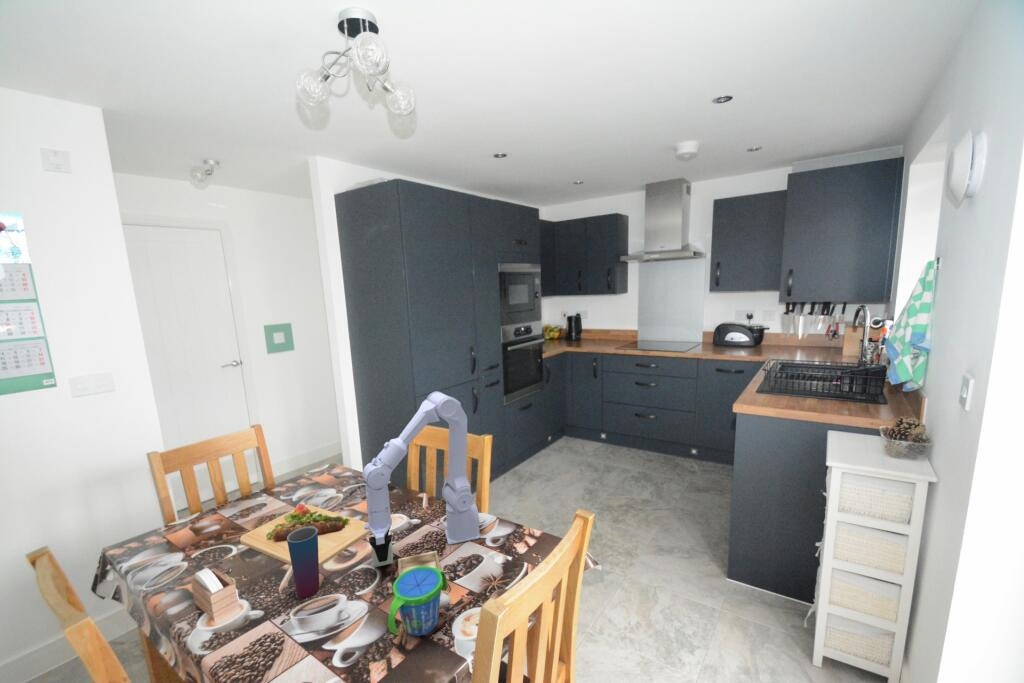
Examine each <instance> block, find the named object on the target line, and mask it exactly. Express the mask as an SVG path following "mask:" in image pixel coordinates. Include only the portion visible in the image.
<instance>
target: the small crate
mask: <svg viewBox="0 0 1024 683" xmlns="http://www.w3.org/2000/svg"><path fill="white" fill-rule="evenodd" d="M371 553H372V554H371V555H372V556H371V557H372V563H373V564H372V567H373V568H377V567H381V566H386V565H390V564H394V551H393V539H392V540H391V542H390V544H389V549H388V558H387V561H384V562H379V561H378V559H377V556H376V553H375V550H374V549H373V547H372V546H371Z"/></svg>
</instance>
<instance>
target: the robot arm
mask: <svg viewBox="0 0 1024 683" xmlns="http://www.w3.org/2000/svg"><path fill="white" fill-rule="evenodd" d="M461 405H462V403H461V402H460V401H459V400H457V398H454V397H453V396H449V395H447V394H444V393H443V392H441V391H437V390H435V391H433V392H431V393H430V394H428V395H427V398H426V399H425V400H423V401H422V403H421V404H420V407H419V409H418V410H417V412H416V413H414V415H413V417H412V418H411V420H410V421H409V422H408V423H407V425H406V426H405V428H404V429H403V430H402V432H401V433H400V434H399V436H398V437H396V438H391V439H390V440H389V441H386V442H384V444H383V448H382V450H381V451H380V452H379V453H378V454H377V456H375V457H373V459H372V460H371V462H369V463H367V464H366V465H365V466H364V467H363V470H362V473H361V477H362V479H363V480H364V481H365V490H366V491H365V496H366V497H365V498H366V508H367V517H368V518H367V519H368V522H367V524H365V525H364V529H365V530H367V529H369V530H370V531H371V533H370V534H372V535H373V536H371V537H368V538H369V541H368V542H369V545H370V547H371V548H372V547H373V549H374V550H375V553H376V556H377V559H378V561H379V562H384V561H387V558H388V549H389V544H390V542H391V540H392V541H393V534H390V529H391V526H392V525H393V521H392V520H393V519H392V515H391V513H392V512H391V503H390V495H389V486H388V484H389V482H390V480H391V474H392V472H393V471H394V469H395V468H396V467H397V466H398V465H399V464H400V462H401V461H402V460H403V458H404V457H405V456H407V454H408V449H409V448H408V445H410V443H411V442H412V441H413V440H414V439H415V438H416V437H417V436H418V435H419V434H420V433H421V431H423V430H424V428H425V427H426V426H427V425H428V424H430V423H431V424H432V423H436V422H437V423H439V422H440V421H441V419H440V418H442V419H443V420H444V421H445V422H447V423H448V462H447V463H448V467H447V468H448V470H447V476H446V477H444V483H443V484H444V485H443V487H442V489H441V496H442V498H443V499H444V500H445V516H446V529H444V533H445V536H446V541H447V544H448V545H449V546H450V545H455V544H459V543H464V542H465V543H466V542H469V541H473V540H478V539H480V538H481V535H480V519H479V510H478V506H477V504H476V503H475V502H474V496H473V493H472V492H471V484H470V482H469V480H468V477H467V464H468V463H467V462H468V461H467V457H468V456H467V455H468V450H467V449H468V417H467V414H466V413H465V411H464V409H463V407H462V406H461ZM439 417H440V418H439Z"/></svg>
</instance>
